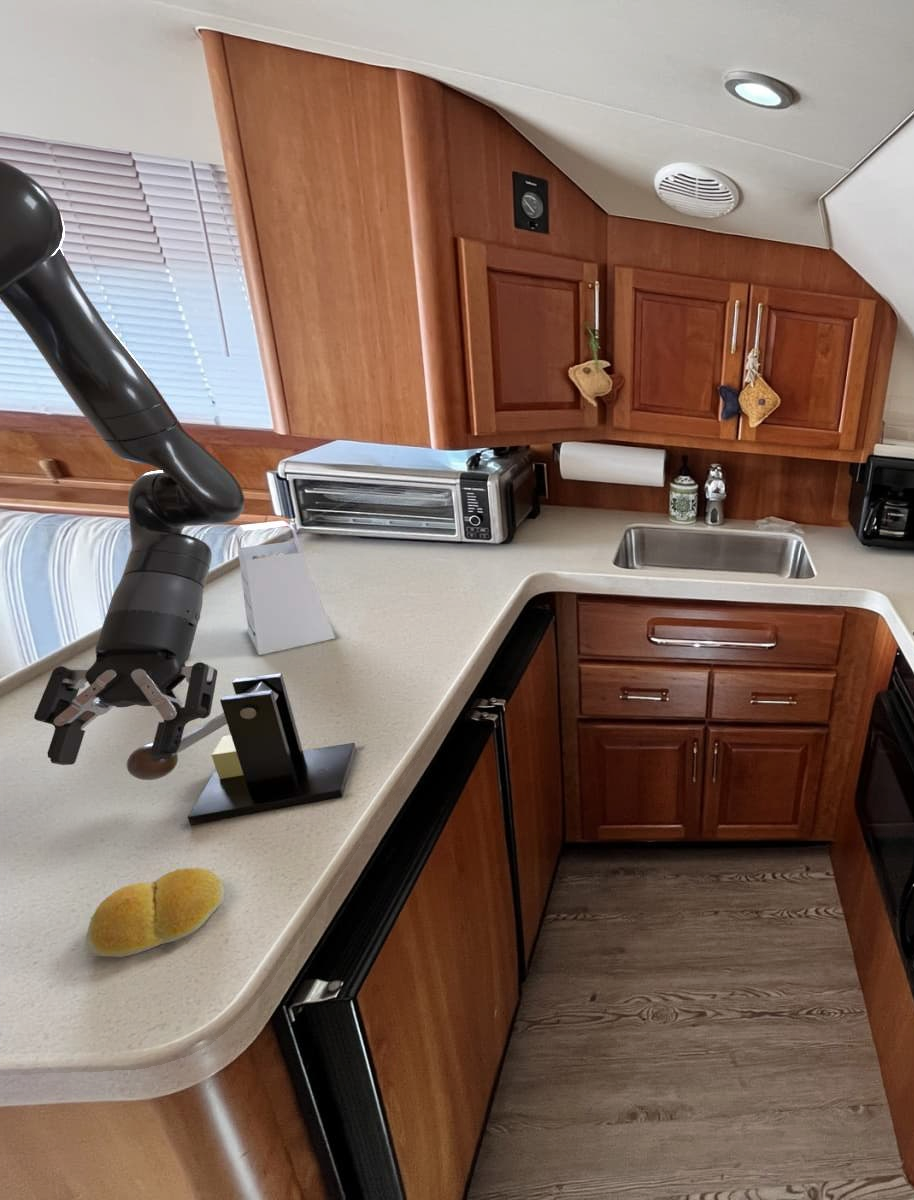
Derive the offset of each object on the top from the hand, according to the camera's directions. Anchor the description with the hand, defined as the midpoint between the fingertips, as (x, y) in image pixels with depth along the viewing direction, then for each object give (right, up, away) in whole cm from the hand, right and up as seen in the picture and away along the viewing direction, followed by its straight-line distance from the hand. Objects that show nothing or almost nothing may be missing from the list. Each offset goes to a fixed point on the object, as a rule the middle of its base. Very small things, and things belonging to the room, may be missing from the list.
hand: (112, 760), depth 67 cm
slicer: (+10, -5, +10) cm, 15 cm away
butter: (+5, -3, +10) cm, 12 cm away
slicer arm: (+7, +1, +5) cm, 8 cm away
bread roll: (+13, -13, -8) cm, 20 cm away
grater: (-16, +11, +44) cm, 48 cm away
